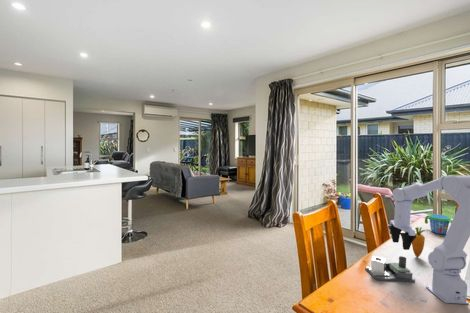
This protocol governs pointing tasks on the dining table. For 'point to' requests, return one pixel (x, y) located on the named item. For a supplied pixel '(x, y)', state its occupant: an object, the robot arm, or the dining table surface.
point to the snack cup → (438, 223)
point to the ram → (399, 265)
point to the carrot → (418, 242)
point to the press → (391, 275)
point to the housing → (378, 265)
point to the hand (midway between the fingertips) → (400, 245)
